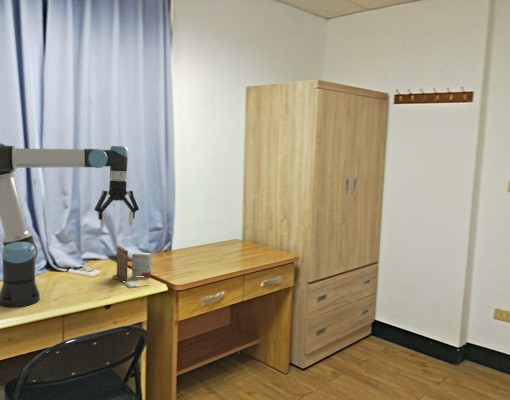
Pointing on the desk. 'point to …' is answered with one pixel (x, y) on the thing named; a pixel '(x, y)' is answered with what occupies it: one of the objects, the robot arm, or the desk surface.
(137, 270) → the ink box
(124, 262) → the screen
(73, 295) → the desk surface
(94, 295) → the desk surface
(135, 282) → the mat
